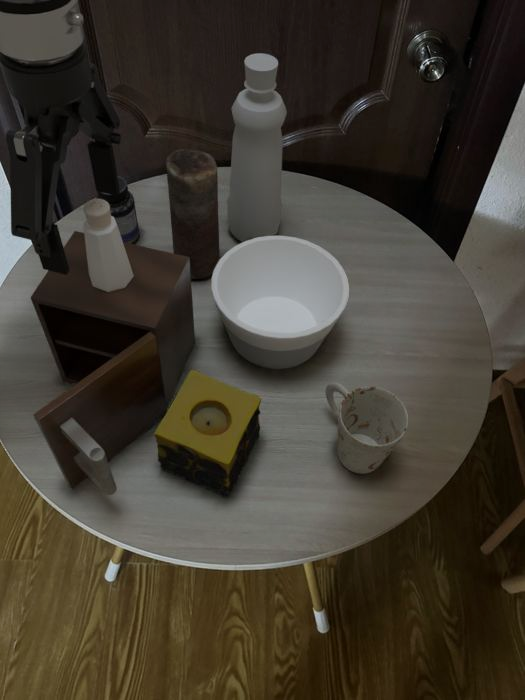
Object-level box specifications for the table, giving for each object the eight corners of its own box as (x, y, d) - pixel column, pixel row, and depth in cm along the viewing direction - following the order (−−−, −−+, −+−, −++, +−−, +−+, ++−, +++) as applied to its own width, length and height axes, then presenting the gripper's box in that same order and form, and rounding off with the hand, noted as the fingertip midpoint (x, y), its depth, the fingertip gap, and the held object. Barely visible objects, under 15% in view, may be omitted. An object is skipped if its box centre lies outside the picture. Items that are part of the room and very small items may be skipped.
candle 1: (184, 244, 104) (176, 141, 88) (225, 254, 103) (225, 151, 87) (168, 275, 99) (156, 173, 83) (211, 286, 99) (208, 185, 83)
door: (198, 443, 82) (193, 368, 68) (103, 524, 75) (75, 460, 61) (162, 409, 85) (149, 331, 71) (67, 484, 78) (32, 414, 64)
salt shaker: (85, 292, 74) (65, 221, 65) (93, 259, 77) (75, 188, 68) (130, 293, 74) (117, 224, 65) (136, 261, 77) (125, 190, 68)
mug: (356, 494, 79) (371, 458, 71) (296, 423, 84) (303, 383, 76) (403, 460, 82) (423, 422, 74) (342, 394, 88) (354, 352, 80)
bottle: (281, 214, 109) (296, 47, 85) (278, 250, 104) (293, 83, 80) (229, 210, 110) (230, 42, 85) (224, 246, 104) (223, 77, 80)
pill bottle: (102, 226, 106) (91, 173, 97) (138, 223, 106) (130, 170, 98) (103, 251, 102) (91, 199, 93) (140, 248, 103) (132, 195, 94)
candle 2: (193, 407, 85) (190, 366, 77) (261, 434, 83) (264, 394, 75) (157, 469, 79) (149, 431, 71) (229, 500, 77) (229, 464, 69)
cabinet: (167, 407, 85) (155, 328, 71) (62, 380, 87) (30, 297, 73) (195, 341, 92) (189, 256, 78) (97, 317, 94) (74, 230, 80)
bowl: (309, 273, 101) (317, 223, 93) (359, 364, 91) (373, 317, 82) (196, 300, 97) (193, 250, 88) (235, 399, 86) (236, 353, 78)
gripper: (8, 135, 46) (64, 316, 63) (137, -10, 60) (154, 170, 77) (-83, 114, 47) (-3, 299, 64) (66, -24, 61) (98, 157, 78)
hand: (83, 228), depth 71 cm, fingers open, 13 cm apart
